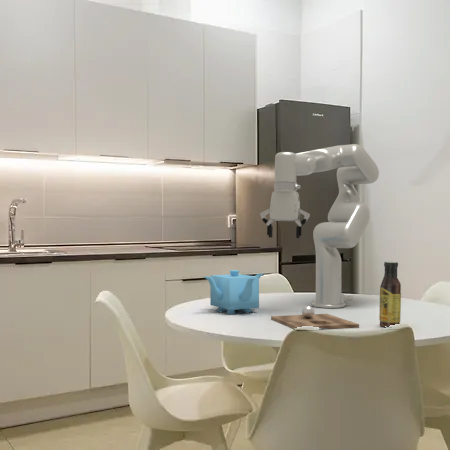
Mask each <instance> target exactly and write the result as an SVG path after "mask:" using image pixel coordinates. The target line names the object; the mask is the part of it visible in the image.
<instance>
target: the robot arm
mask: <svg viewBox="0 0 450 450" xmlns="http://www.w3.org/2000/svg"><path fill="white" fill-rule="evenodd" d="M274 157H275V158H274V184H273V185H274V187H273V188H274V191H272V193H271V197H270V206H269V208H267V209H265V210H264V211H262V212H260V213H259V215H260V218H261V219H262V222H263V223H264V224H265V225H266V231H267V232H266V235H267V236H268V238H273V223H274V222H275V221H276V222H295V224H296V225H297V226H296V234H295V237H296V239H300V238H301V237H302V227H303V226H304V225H305V224H306V223H307V221H309V220H308V219H309V218H310V216H311V215H310V213H308V212H307V211H304V210H303V209H301V202H300V194H299V192H297V190H300V189H301V185H300V184H298V183H297V176H299V177H300V176H301V177H302V176H309V175H311V174H313V173H320V172H321V173H322V172H326V171H331V170H336V169H337V170H336V180H337V181H336V182H337V184H338V185H337V186H338V195H337V196H336V199H335V200H334V202H333V204H332V206H331V207H330V210H329V211H328V214H327V221H328V222H327V221H324V222H320V223H318V224H316V226H315V227H314V229H313V232H312V235H313V236H312V237H313V242H314V248H315V249H314V250H315V301H312V302H311V307H315V308H321V309H322V308H325V309H340V308H345V307H346V301H349V302H350V301H354V296H353V295H345V293H342V257H341V254H340V252H339V250H338V249H352V248H354V247H355V246H356V245H358V243H359V241H360V240H361V238H362V236H363V234H364V232H365V230H366V228H367V226H368V224H369V222H370V217H371V216H370V213H371V211H370V208H369V207H368V205H367V204H366V203H364V202H362V201H360V198H361V197H360V195H359V192H358V191H357V189H356V188H355V185H369V184H370V185H371V184H374V183H375V182H377V180H378V179H379V175H380V173H379V172H380V171H379V167H378V165H377V163H376V162H375V160H374V159H373V158H372V157H371V156H370V154H369V152H367V150H366V149H365V148H364V147H363V146H361V145H360V144H357V143H352V144H351V143H350V144H340V145H334V146H328V147H323V148H317V149H312V150H308V151H303V152H298V153H295V152H292V151H281V152H277V153H276V154H275V156H274ZM268 214H269V219H267V217H266V215H268ZM301 215H303V216H304V217H303V219H301ZM300 219H301V220H300Z"/></svg>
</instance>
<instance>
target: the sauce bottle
mask: <svg viewBox="0 0 450 450" xmlns="http://www.w3.org/2000/svg"><path fill="white" fill-rule="evenodd" d="M383 266H384V273H383V274H384V276H383V278H382V281H381V284H380V286H379V314H378V315H379V319H378V320H379V325H380V327H384V328H386V327H385V326H390V325H395V324H400V325H401V313H402V312H401V311H402V310H401V308H402V307H401V305H402V301H401V300H402V299H401V298H402V292H401V291H402V290H401V289H402V287H401V286H402V285H401V282H400V280H399V279H398V267H399V262H398V261H393V260H389V261H388V260H387V261H384V264H383Z"/></svg>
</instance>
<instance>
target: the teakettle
mask: <svg viewBox="0 0 450 450" xmlns="http://www.w3.org/2000/svg"><path fill="white" fill-rule="evenodd" d="M239 272H240V270H237V269H231V270H229V274H213V275H212V274H211V275H210V276H203V278H204V279H206V280H207V281H208V283H209V286H210V291H209V293H210V298H209V299H210V306H213V307H217V310H216V312H219V311H223V312H225V311H226V310H227V311H226V313H227V314H226V315H235V314H236V311H241V310H240V309H242V310H243V312H244V313H245V312H252V313H253V310H252V309H259V308H260V278H261V277H262V276H264V275H265V273H258V274H255V275H248V274H241V273H239Z"/></svg>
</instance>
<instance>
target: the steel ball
mask: <svg viewBox="0 0 450 450" xmlns="http://www.w3.org/2000/svg"><path fill="white" fill-rule="evenodd" d="M313 307H314V306H312V305H305V306H303V308H302V309H301V315H303V316H304V317H305V318H311V317H312V316H313V315H314V314H315V309H314V308H313Z"/></svg>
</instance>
